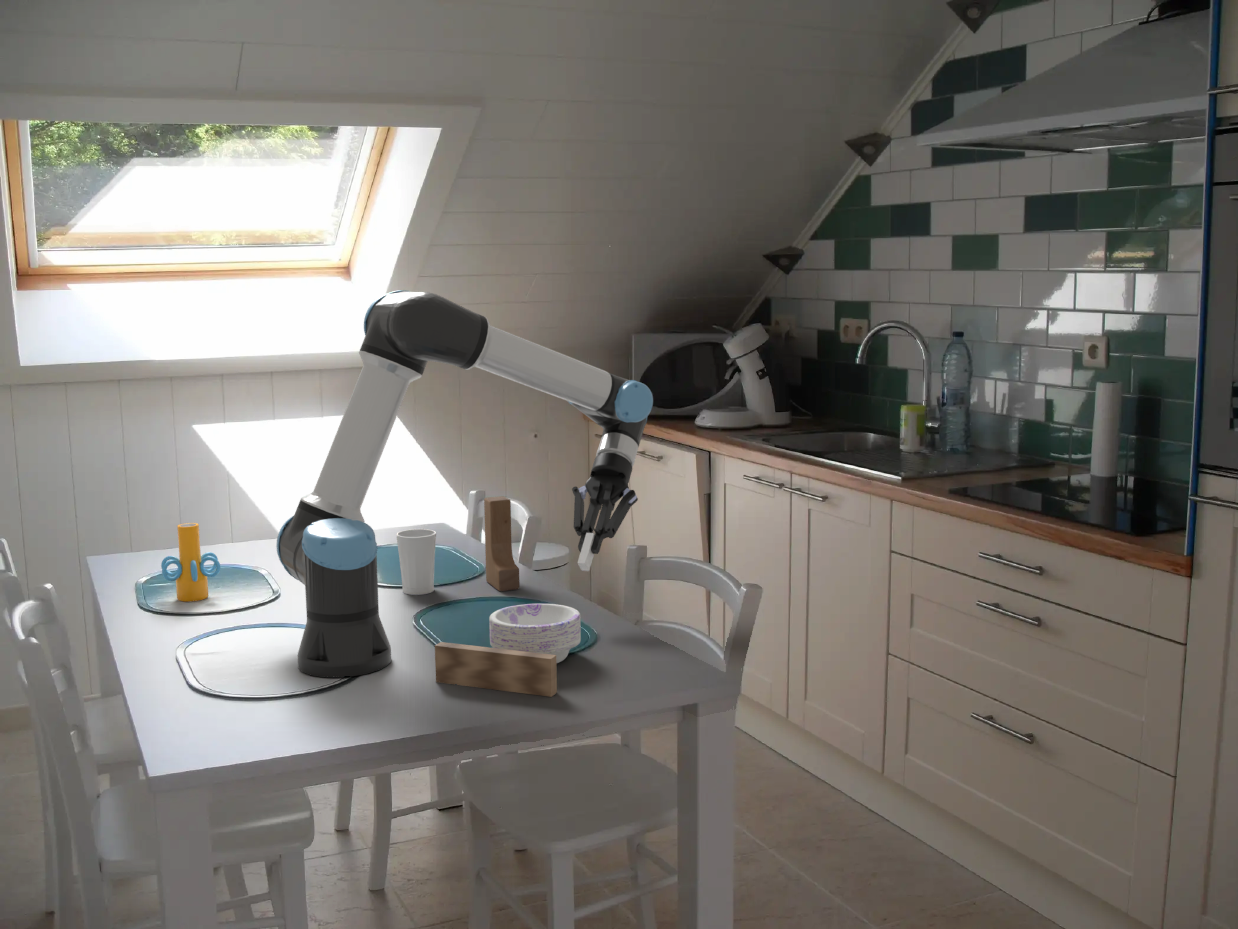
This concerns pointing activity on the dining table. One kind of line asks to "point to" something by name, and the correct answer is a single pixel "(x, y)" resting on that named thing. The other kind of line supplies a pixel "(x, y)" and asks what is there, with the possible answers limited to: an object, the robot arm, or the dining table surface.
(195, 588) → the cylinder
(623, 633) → the dining table surface
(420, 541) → the cup
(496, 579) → the wooden block
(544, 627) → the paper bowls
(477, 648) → the rail
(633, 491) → the robot arm
